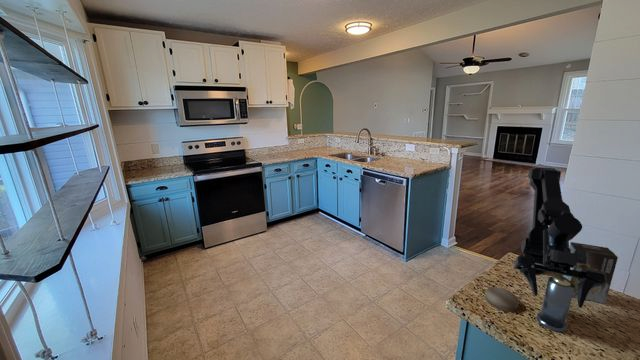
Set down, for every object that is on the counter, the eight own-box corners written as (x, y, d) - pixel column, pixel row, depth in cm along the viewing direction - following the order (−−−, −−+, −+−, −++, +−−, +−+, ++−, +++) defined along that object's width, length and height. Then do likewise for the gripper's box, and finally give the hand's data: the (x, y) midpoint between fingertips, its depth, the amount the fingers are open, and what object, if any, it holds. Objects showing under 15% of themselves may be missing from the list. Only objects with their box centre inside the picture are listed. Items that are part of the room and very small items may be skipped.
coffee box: (596, 292, 86) (609, 247, 81) (605, 304, 80) (620, 257, 76) (559, 284, 90) (570, 241, 86) (566, 295, 84) (577, 250, 80)
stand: (498, 289, 88) (499, 284, 87) (524, 307, 80) (525, 301, 79) (478, 295, 85) (479, 290, 85) (503, 314, 78) (504, 308, 77)
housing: (546, 312, 78) (556, 270, 74) (572, 328, 72) (584, 284, 68) (531, 317, 76) (540, 275, 72) (556, 335, 70) (568, 289, 66)
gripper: (522, 229, 76) (521, 284, 70) (613, 244, 67) (621, 309, 61) (514, 243, 85) (513, 292, 78) (594, 257, 76) (600, 315, 69)
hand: (557, 301), depth 72 cm, fingers open, 9 cm apart
